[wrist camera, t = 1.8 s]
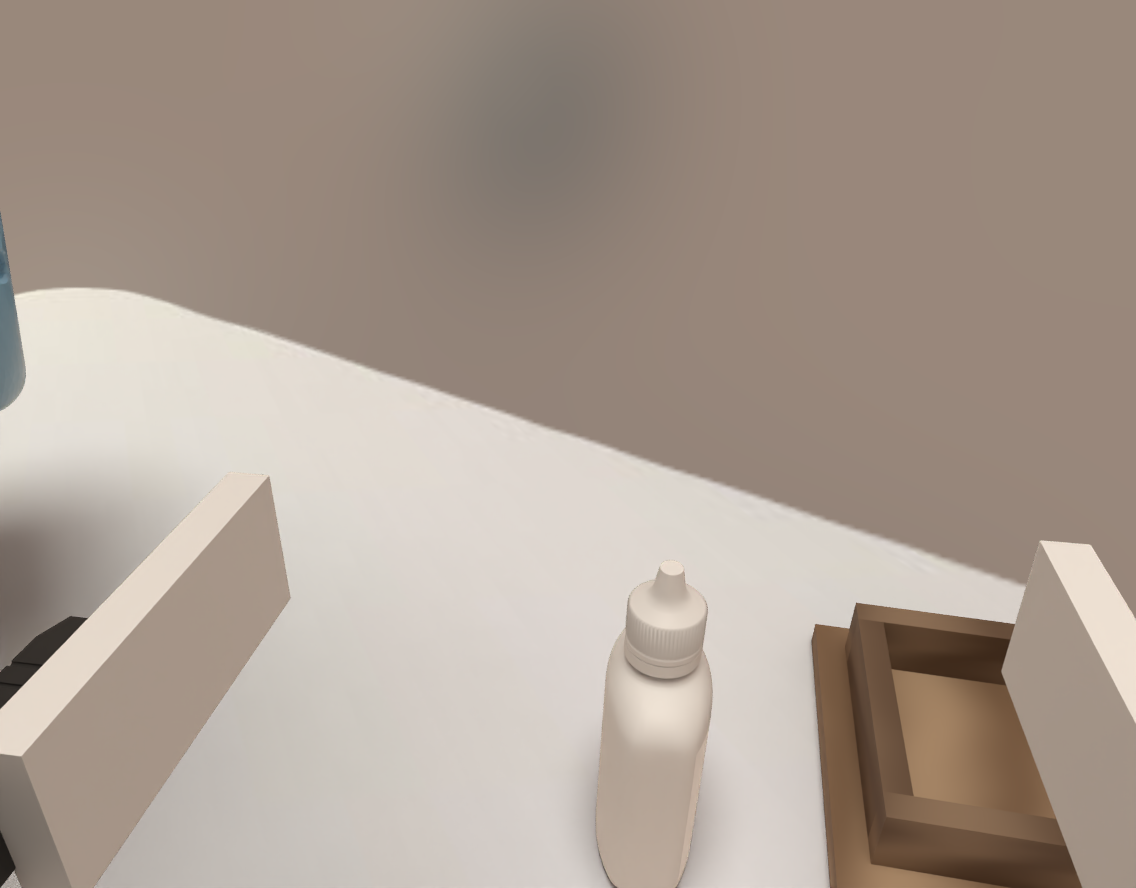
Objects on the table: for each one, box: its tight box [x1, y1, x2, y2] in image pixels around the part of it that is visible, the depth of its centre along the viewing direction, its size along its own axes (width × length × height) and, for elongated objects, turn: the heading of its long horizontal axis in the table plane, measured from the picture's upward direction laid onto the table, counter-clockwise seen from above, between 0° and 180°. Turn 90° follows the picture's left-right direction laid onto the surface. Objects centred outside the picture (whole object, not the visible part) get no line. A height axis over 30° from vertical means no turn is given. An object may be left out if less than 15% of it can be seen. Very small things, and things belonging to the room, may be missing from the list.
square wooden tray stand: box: [812, 603, 1082, 888], centre depth 35 cm, size 13×13×4 cm
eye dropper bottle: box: [596, 560, 713, 888], centre depth 30 cm, size 4×6×12 cm
